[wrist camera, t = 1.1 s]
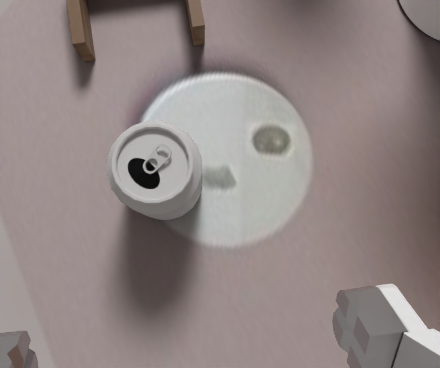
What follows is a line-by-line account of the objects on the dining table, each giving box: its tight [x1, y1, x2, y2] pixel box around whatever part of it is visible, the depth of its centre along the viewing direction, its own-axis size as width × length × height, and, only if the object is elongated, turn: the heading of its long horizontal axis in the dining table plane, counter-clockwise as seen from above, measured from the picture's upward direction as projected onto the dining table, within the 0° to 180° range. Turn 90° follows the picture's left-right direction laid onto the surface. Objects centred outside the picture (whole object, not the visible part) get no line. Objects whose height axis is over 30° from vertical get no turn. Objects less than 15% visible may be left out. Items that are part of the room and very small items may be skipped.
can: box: [107, 121, 202, 220], centre depth 37 cm, size 8×8×12 cm
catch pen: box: [67, 0, 205, 62], centre depth 43 cm, size 13×9×4 cm
